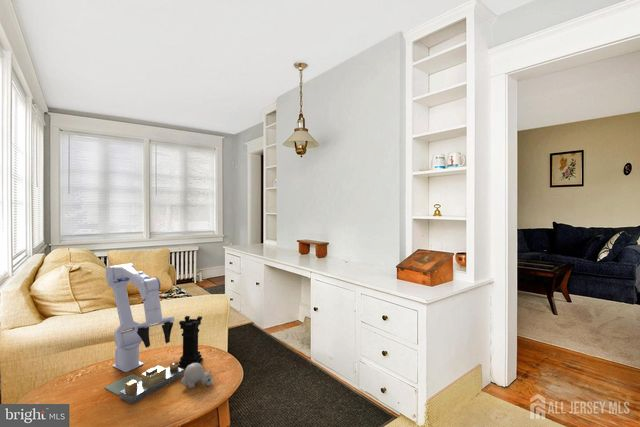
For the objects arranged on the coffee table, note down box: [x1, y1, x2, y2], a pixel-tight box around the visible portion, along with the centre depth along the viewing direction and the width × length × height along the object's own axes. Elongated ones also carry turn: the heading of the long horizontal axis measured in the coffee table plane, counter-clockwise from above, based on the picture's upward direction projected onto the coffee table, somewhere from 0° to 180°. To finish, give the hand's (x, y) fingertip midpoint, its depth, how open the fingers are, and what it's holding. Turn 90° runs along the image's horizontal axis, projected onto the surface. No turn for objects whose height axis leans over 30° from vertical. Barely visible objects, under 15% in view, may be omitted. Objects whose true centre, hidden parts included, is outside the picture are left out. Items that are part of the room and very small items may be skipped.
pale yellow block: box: [141, 365, 167, 386], centre depth 128 cm, size 7×4×4 cm, turn 152°
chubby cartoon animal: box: [180, 363, 215, 389], centre depth 129 cm, size 7×12×8 cm, turn 89°
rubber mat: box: [103, 373, 142, 397], centre depth 129 cm, size 9×11×1 cm
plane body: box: [119, 361, 185, 405], centre depth 128 cm, size 22×7×6 cm, turn 152°
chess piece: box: [178, 315, 204, 369], centre depth 145 cm, size 8×8×20 cm
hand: (157, 344), depth 127 cm, fingers open, 7 cm apart
